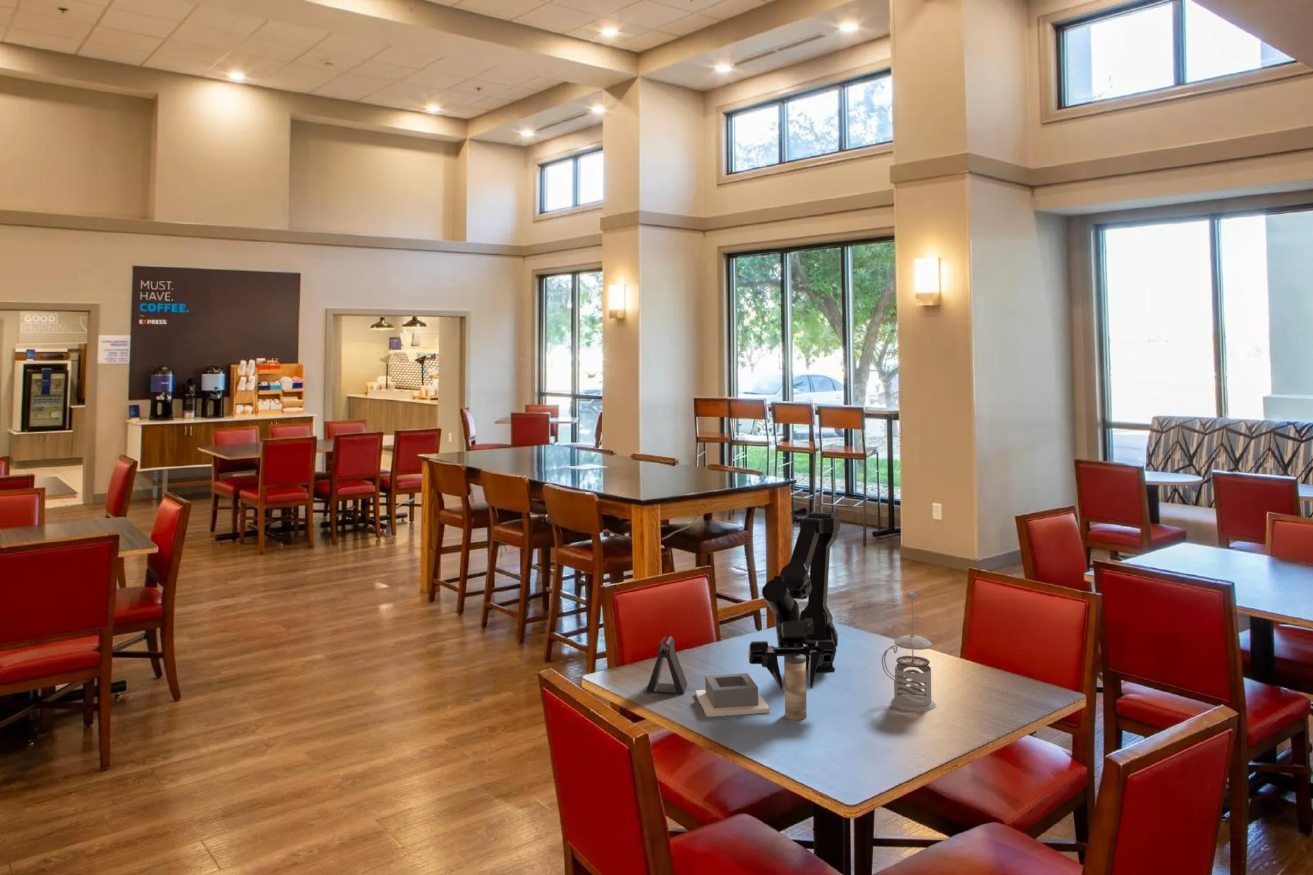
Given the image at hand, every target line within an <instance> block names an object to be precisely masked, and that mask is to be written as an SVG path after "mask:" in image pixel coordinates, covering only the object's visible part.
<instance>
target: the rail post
mask: <svg viewBox="0 0 1313 875" xmlns="http://www.w3.org/2000/svg"><path fill="white" fill-rule="evenodd" d="M783 659H784V660H783V662H784V663H783V665H784V666H783V667H784V669H783V671H784V672H783V674H784V717H785V718H786V719H788V720H792V721H802V720H805V719H807V716H808V715H807V711H808V710H807V668H806V656H804V655H802V654H787V655H785V656H783Z"/></svg>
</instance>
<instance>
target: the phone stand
mask: <svg viewBox="0 0 1313 875" xmlns="http://www.w3.org/2000/svg"><path fill="white" fill-rule="evenodd" d="M666 639H667V636H666V635H665V636H664V637H663V638H662V640H661V641H660V643H659V645H658V646H657V653H658V654H657V658H656V662H655V664H654V667H653V670H652V674H651V676H650V679H649V682H648V685H647V688H646V691H645V692H646V693H647V694H661V695H662V694H666V695H667V694H668V695H684V694H685V692H686V689H687V687H688V682H687V679H686V676H685V674H684V671H683V669H682V666H681V664H680V661H679V660H680V659H679V658H678V655H677V652H676V651H675V639H674V638H673V637H672V636H671V635H670V636H669V637H668V639H667V640H666ZM665 641H666V642H665ZM664 642H665V643H664ZM665 645H666V646H665ZM665 659H666V661H667V664H668V668H669V671H670V675H671V679H672V681H673V682H672V683H665V682H664V683H662V682H659V680H660V677H661V672H662V668H663V665H664V660H665Z"/></svg>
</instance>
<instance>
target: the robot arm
mask: <svg viewBox="0 0 1313 875" xmlns="http://www.w3.org/2000/svg"><path fill="white" fill-rule="evenodd" d="M840 526H841V520H840V517H837V515H836V513H834V512H819V511H811V512H809V515H804V516H802V517H801V519H800V522H799V531H798V535H797V538H796V541H795V545H794V548H793V551H792V555H791V557H790V560H789V563H788V562H787V564H785V566H783V567H782V568H781V570H780V572H779V573H778V575H774V577H773V579H771V580H769V581H768V582H766V583H765V584H764V586H763V587H762V589H761V595H762V597H763V599H764V600H765V602H766V604H767V606H768V607H769V609H770V610H771V612H772V613H774V621H775V622H774V623H775V631H776V641H777V646H774V645H769V643H768V641H767V640H764V641H763V640H762V641H761V640H759V641H758V640H757V641H751V642H750V644H749V645H748V646H749V647H748V663H749V664H750V665H761V667H762V668H766V669H767V671H768V672H769V673H770V674H771V676H772V677H773V680H774V681H775V682H776V684H777V686H778V687H779V689H780V690H783V681H782V680H783V679H782V674H781V671H780V666H779V662H778V657H784V656H785V655H787V654H802V655H804V656H806V670H808V685H809V689H813V686H814V681H815V680H814V679H815V674H816V673H817V672H818V673H819V672H833V671H836V667H834V665H833V664H834V660H835V657H836V653H837V647H838V645H839V643H838V642H839V634H838V631H837V630H836V628H835V625H834V623H833V615H832V614H831V611H830V609H829V607H828V605H827V604H828V587H829V573H830V572H829V570H830V558H831V557H830V555H831V547H832V546H833V544H834V543H835V541H836V540H837V538H838V532H839V531H840V528H841V527H840ZM807 598H808V601H807V605H806V606H805V608H804V609H802V610H800V607H799V603H798V601H797V600H802V601H803V600H807Z"/></svg>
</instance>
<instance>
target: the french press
mask: <svg viewBox="0 0 1313 875" xmlns="http://www.w3.org/2000/svg"><path fill="white" fill-rule="evenodd" d="M917 597H918V595H917V594H916V593H915V592H909V593H908V594H907V598H908V599H911V633H912V634H909V635H905V634H904V635H902V636H900V637H898V638H896V639H894V640H893V642H894V645H891V646H889V647H888V648H887V649H886V650H885V651H884V652H883V654H882V657H881V664H882V669H883V672H884V674H885V675H886V676H887V677H888V678H889V679H892V680H893V688H894V690H893V691H894V694H893V695H894V696H893V698H891V700H890V704H891V705H892V707H895V708H896V709H899V710H903V711H909V712H928V711H932V710H934V709H935V708H936V707H937V703H936V702H934V701H933V699H932V667H931V666H929V664H930V662H931V661H930V660H929V659H928V658H925V657H922V656H916V655H914V651H915V650H919V651H923V650H927V649H930V648H931V647H932V644H933V643H932V642H931V641H930V640H928V639H927V638H926V637H922V636H920V635H915V634H914V599H917ZM898 648H901V649H906V650H912V652H911V654H912V655H902V656H898V657H897V658H896V660H895V661H896V663H897V664H896V665H895V666H894V674H893V673H891V671H890V670H889V669H888V667H887V664H886V656H887V654H888V651H889V650H891V649H893V653H894V654H896V653H897V652H898ZM907 668H910V669H907ZM911 668H917V669H919V670H920V671H919V670H916V669H911ZM905 669H907V670H905ZM904 670H905V671H904ZM886 671H887V672H888V673H887V672H886ZM921 671H922V672H921ZM889 674H890V675H889ZM893 677H894V678H893ZM907 679H908V680H907ZM909 679H910V680H909ZM908 685H909V686H908Z"/></svg>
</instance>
